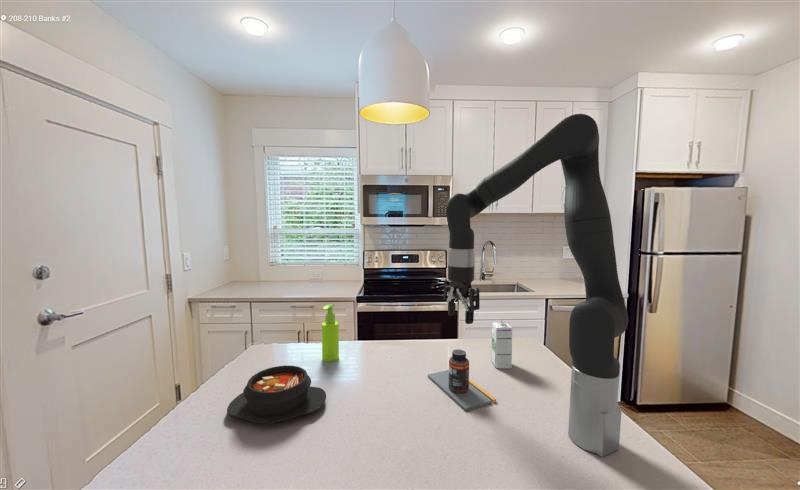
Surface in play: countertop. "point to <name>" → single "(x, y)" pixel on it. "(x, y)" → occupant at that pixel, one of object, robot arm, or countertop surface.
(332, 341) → the soap dispenser
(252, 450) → the countertop surface
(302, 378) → the casserole
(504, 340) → the syrup box
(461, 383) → the supplement bottle
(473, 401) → the grey board
